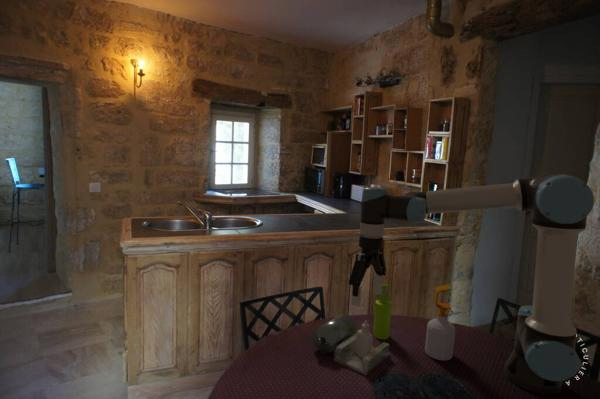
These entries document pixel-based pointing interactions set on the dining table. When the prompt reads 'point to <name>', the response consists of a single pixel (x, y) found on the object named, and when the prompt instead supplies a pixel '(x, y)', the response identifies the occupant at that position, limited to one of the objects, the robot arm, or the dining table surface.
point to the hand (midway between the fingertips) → (366, 299)
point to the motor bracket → (347, 345)
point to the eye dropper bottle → (363, 341)
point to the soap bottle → (440, 331)
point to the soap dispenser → (382, 315)
